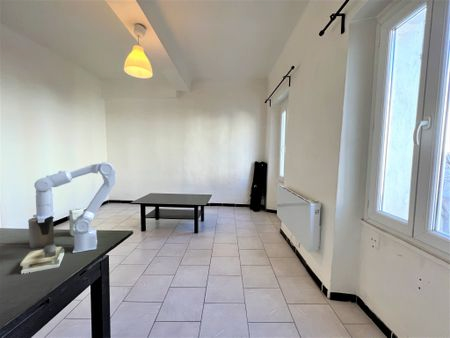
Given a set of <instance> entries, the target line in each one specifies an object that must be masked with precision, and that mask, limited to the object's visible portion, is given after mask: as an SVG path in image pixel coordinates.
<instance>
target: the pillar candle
mask: <svg viewBox="0 0 450 338" xmlns="http://www.w3.org/2000/svg"><path fill="white" fill-rule="evenodd" d="M50 217H54V215H53V216H50ZM36 220H38V219H37V218H36V217H32V218H30V219H28V221H27V222H28V235H29V236H28V241H29V248H31V249H38V248H39V249H40V248H44V247H45V246H47V245H52V244H54V243H55V234H54V233H55V231H54V230H55V228H54V219H53V220H52V222H51V226H50V231H49V234H47V235H42V233H41V230H40V227H39V226H38V224H37V223H36Z"/></svg>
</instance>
